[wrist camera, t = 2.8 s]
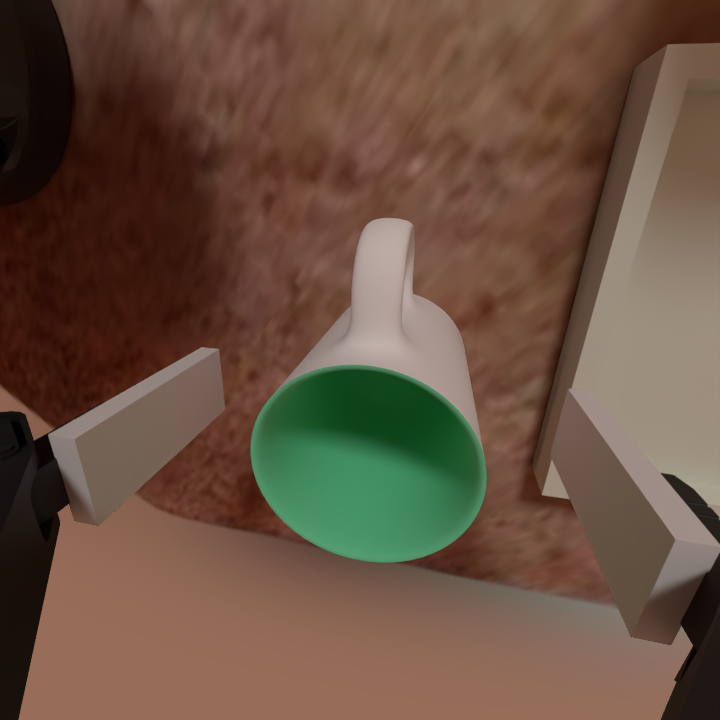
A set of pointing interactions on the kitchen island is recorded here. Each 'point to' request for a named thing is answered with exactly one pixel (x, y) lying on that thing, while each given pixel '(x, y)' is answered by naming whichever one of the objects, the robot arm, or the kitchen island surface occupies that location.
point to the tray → (654, 278)
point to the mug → (376, 421)
